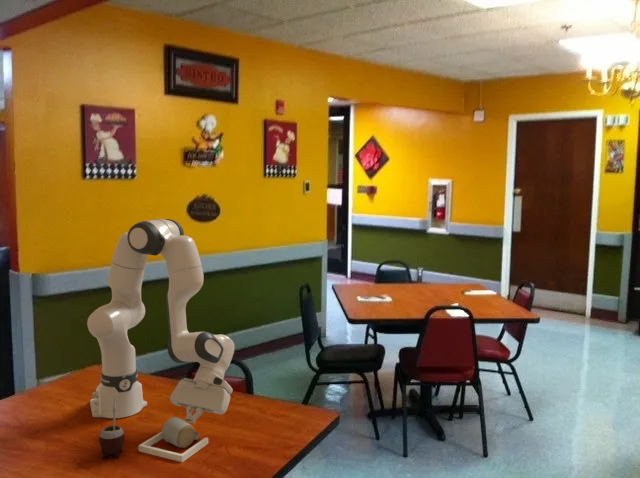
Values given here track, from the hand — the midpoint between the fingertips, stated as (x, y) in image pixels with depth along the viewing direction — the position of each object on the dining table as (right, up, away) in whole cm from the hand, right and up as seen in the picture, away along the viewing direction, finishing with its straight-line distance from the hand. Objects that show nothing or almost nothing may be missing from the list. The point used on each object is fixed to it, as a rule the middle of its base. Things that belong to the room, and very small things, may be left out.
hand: (189, 421), depth 183 cm
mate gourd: (-20, -6, -11) cm, 24 cm away
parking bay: (-3, -6, -6) cm, 9 cm away
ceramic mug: (-1, -6, -3) cm, 7 cm away
